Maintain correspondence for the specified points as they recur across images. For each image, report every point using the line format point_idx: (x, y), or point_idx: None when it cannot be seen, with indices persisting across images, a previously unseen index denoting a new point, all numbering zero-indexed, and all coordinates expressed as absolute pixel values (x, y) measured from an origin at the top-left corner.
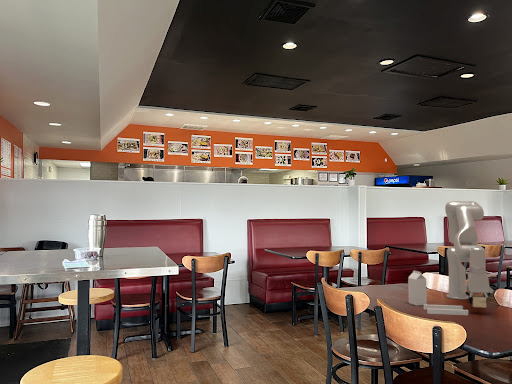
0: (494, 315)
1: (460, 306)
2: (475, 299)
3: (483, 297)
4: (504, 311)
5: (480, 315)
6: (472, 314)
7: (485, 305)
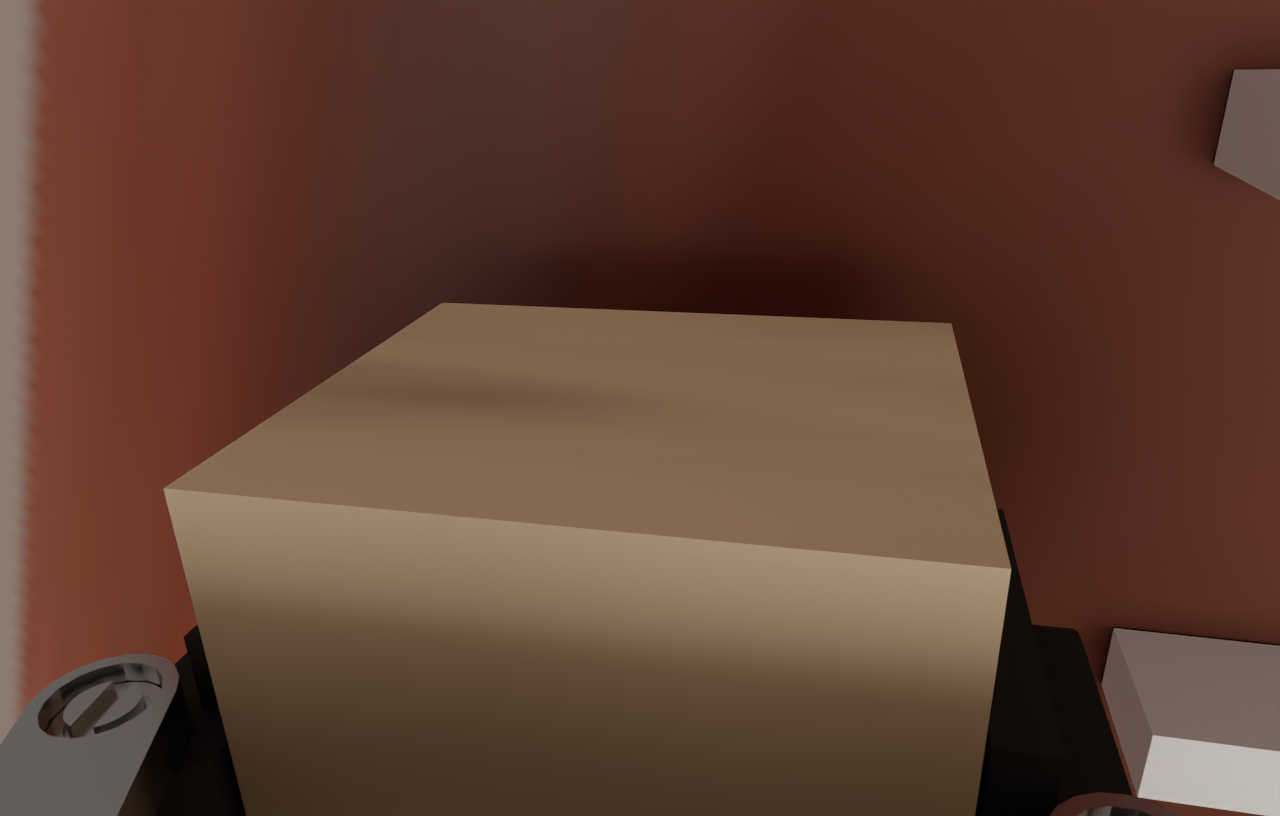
0: (328, 229)
1: (1246, 743)
2: (878, 487)
3: (307, 590)
4: (72, 626)
5: (747, 158)
6: (980, 255)
7: (436, 328)
